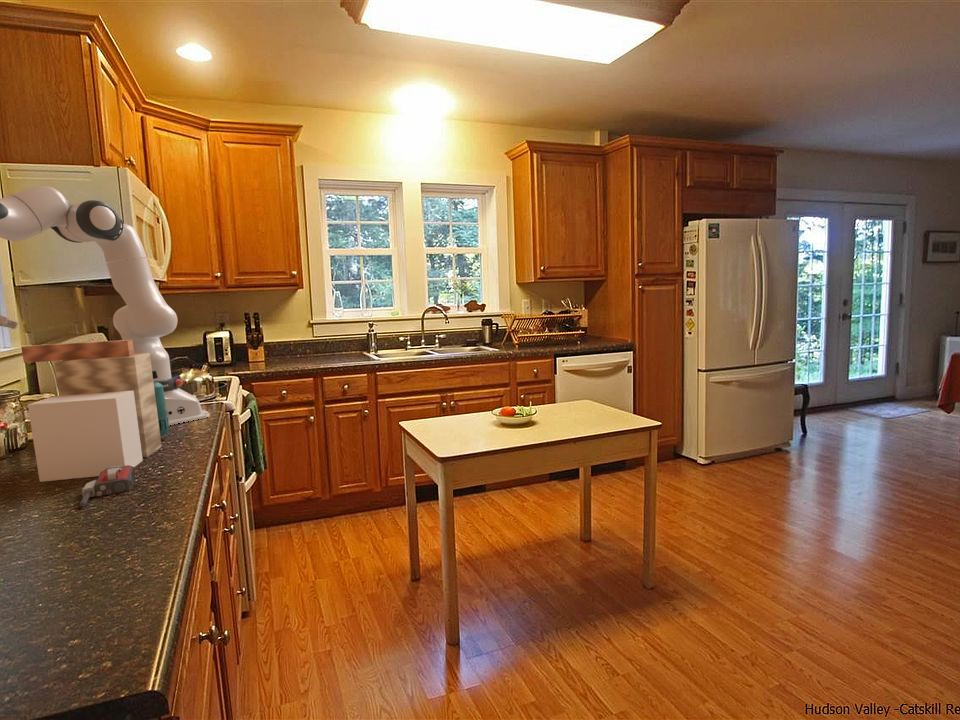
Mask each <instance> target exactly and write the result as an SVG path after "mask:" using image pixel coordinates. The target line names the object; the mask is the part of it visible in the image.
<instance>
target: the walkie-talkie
mask: <svg viewBox="0 0 960 720" xmlns="http://www.w3.org/2000/svg"><path fill="white" fill-rule="evenodd" d="M135 478H136V473H135V467H133V466H130V465H127V466H121V465H120V466H114V467H110V468H108V469H105V470H104V471H102V472H101V473H100V475H99V476H97V479H94V480H91V481H89V482H87V483H86V484H85V485H84V486H83V487H82V489H81V494H82V498H81V500H80V502H79V504H78V505H79V506H80V507H86V505H87V503H88V501H89V499H90V498H94V497H102V496H106V495H112V494H117V493H118V494H120V493H124V492H128V491H132V488H133V484H134V481H135Z"/></svg>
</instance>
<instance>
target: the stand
mask: <svg viewBox="0 0 960 720" xmlns="http://www.w3.org/2000/svg"><path fill="white" fill-rule="evenodd" d="M53 364H54V369H55V377H56V381H57V382H56V384H57V391H58V396H66V395H79V394H93V393H107V392H120V391H134V397H135V405H136V412H137V420H138V428H139V435H140V443H141V451H142V458H143V457H145V458H149V457H150V456H152V454H154V453H155V452H157V451H158V450H159V449H161V448H162V440H161V436H160V430H159V422H158V414H157V406H156V398H155V390H154V382H153V374H152V367H151V359H150V353H137V354H134V355H132V356H124V357H108V358H92V359H76V360H60V361H53ZM143 459H144V458H143Z"/></svg>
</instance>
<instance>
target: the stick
mask: <svg viewBox="0 0 960 720" xmlns="http://www.w3.org/2000/svg"><path fill="white" fill-rule="evenodd" d="M20 349H21V355H22V359H23V363H24V364H25V363H26V364H27V363H29V364H30V363H40V362H44V363H45V362H57V361H62V360H76V359H92V358H108V357H124V356H132V355H134V349H133V341H132V340H122V339H119V340H102V341H88V342H87V341H85V342H84V341H83V342H69V343H67V342H66V343H54V344H53V343H52V344H49V343H48V344H36V345H34V344H33V345H24V346H21V348H20Z"/></svg>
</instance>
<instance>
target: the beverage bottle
mask: <svg viewBox="0 0 960 720" xmlns="http://www.w3.org/2000/svg"><path fill="white" fill-rule="evenodd" d="M152 374H153V379H156V378H158V376H157V372H156V371H152ZM154 390H155V398H156V406H157V414H158V422H159V430H160V437H163V436H167V435H168V434H169V432H170V426H168V425H169V423H168V417H167V412H166V403H165V402H166V401H165V397H164V391H163V385H162V384H160V383H159V382H154Z"/></svg>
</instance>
